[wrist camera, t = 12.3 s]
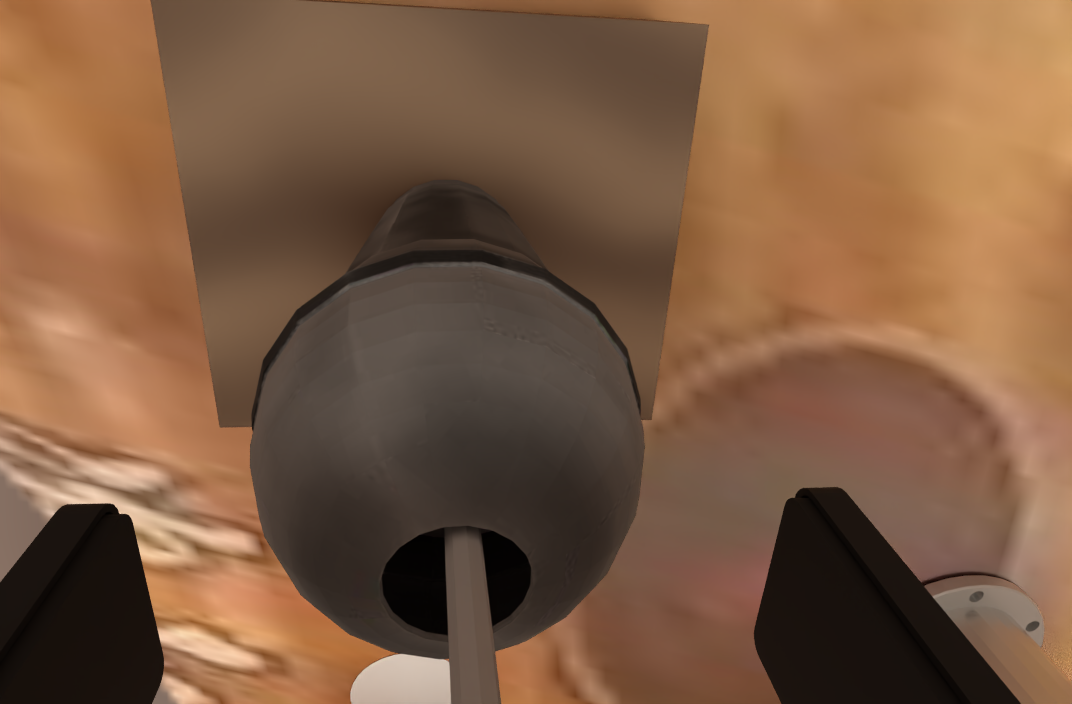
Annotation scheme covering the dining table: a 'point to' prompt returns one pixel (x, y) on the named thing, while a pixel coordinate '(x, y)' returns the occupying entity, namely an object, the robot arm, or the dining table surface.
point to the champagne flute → (403, 681)
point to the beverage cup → (447, 440)
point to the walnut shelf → (421, 152)
